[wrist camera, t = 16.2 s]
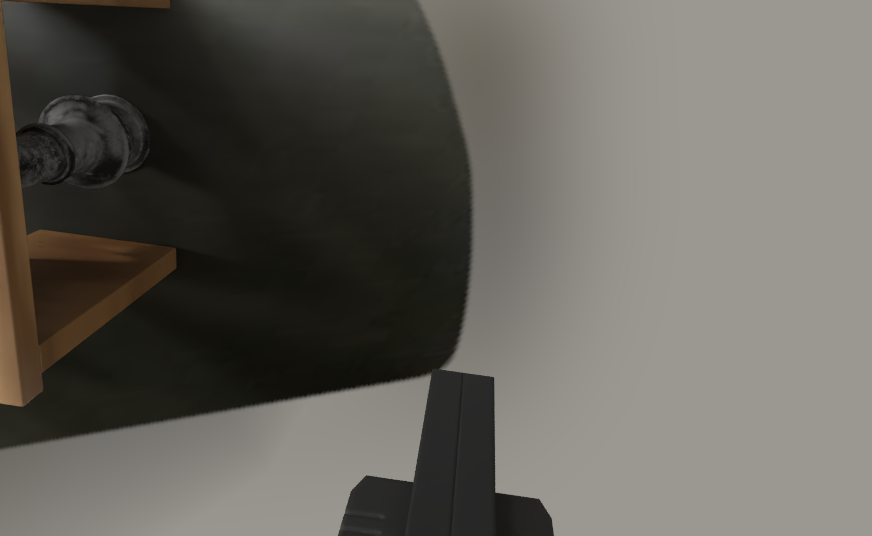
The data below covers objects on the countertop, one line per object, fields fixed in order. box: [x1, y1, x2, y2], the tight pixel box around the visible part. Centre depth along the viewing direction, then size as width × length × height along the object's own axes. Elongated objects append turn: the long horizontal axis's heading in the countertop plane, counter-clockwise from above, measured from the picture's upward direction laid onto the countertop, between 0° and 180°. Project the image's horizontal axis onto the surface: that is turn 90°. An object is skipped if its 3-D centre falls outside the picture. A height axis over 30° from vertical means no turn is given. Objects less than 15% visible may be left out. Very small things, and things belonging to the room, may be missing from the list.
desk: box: [0, 0, 177, 407], centre depth 37 cm, size 10×21×17 cm, turn 173°
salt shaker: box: [16, 94, 151, 189], centre depth 39 cm, size 6×6×12 cm
